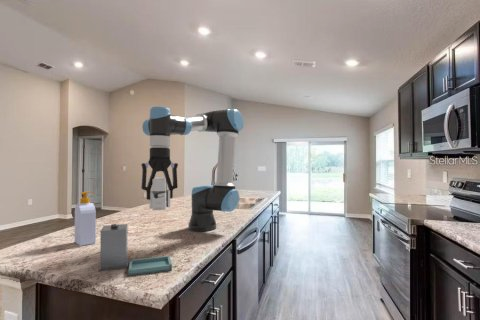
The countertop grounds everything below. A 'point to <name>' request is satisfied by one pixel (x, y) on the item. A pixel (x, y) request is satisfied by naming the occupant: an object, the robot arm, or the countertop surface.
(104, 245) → the unit
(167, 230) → the countertop surface
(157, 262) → the tray
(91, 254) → the countertop surface
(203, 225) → the robot arm
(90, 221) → the soap bottle
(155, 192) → the ink box
